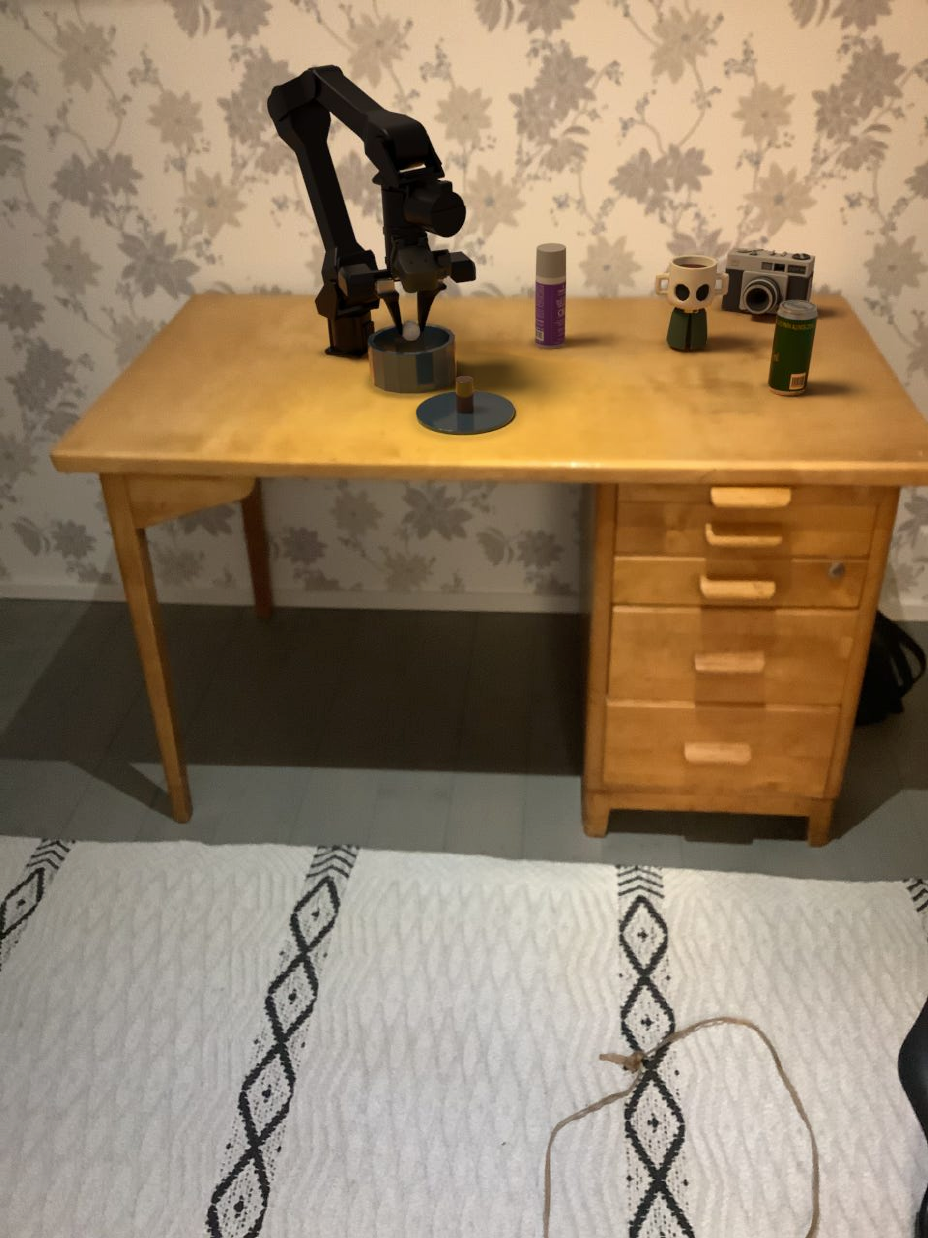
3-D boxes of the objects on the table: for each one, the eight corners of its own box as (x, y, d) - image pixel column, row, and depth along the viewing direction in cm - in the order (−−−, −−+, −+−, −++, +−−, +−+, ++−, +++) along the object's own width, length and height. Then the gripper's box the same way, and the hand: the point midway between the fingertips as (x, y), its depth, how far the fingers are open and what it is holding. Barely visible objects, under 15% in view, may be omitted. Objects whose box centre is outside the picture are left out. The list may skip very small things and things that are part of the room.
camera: (708, 314, 180) (716, 252, 175) (731, 300, 186) (739, 240, 181) (789, 329, 173) (800, 265, 168) (810, 314, 180) (820, 252, 174)
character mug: (651, 353, 167) (657, 268, 160) (650, 337, 173) (655, 254, 166) (723, 354, 166) (733, 268, 159) (720, 337, 172) (728, 254, 164)
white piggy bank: (418, 344, 157) (417, 324, 155) (398, 343, 158) (397, 323, 156) (422, 336, 159) (421, 317, 158) (403, 335, 160) (402, 316, 158)
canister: (355, 389, 160) (351, 347, 156) (397, 359, 169) (395, 318, 165) (431, 402, 155) (429, 359, 151) (470, 370, 164) (469, 329, 160)
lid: (398, 428, 148) (395, 389, 145) (444, 391, 158) (442, 354, 155) (488, 445, 143) (487, 406, 140) (530, 406, 153) (530, 368, 149)
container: (562, 349, 170) (564, 252, 161) (533, 348, 171) (533, 251, 162) (566, 338, 173) (568, 242, 165) (537, 337, 174) (538, 242, 166)
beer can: (814, 391, 153) (827, 307, 147) (783, 399, 152) (795, 315, 145) (789, 378, 157) (801, 296, 151) (759, 386, 156) (769, 303, 149)
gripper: (351, 246, 140) (361, 362, 149) (488, 229, 145) (490, 342, 154) (332, 224, 149) (343, 334, 158) (461, 208, 153) (465, 317, 162)
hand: (410, 332), depth 158 cm, fingers closed on white piggy bank, 3 cm apart
